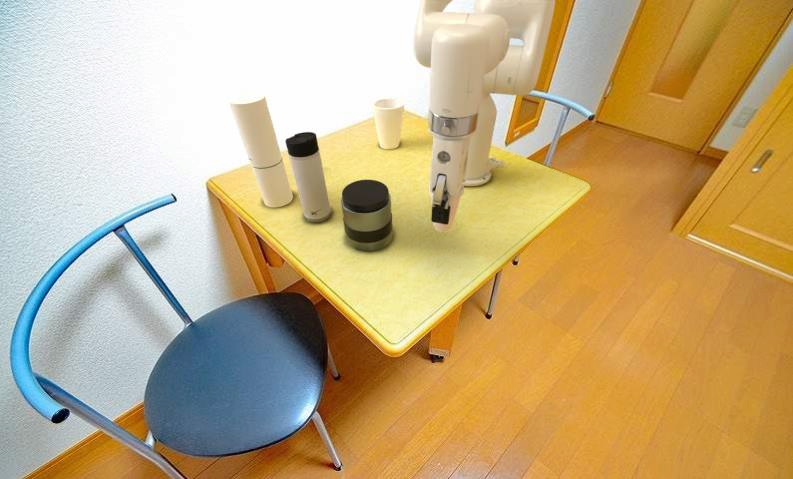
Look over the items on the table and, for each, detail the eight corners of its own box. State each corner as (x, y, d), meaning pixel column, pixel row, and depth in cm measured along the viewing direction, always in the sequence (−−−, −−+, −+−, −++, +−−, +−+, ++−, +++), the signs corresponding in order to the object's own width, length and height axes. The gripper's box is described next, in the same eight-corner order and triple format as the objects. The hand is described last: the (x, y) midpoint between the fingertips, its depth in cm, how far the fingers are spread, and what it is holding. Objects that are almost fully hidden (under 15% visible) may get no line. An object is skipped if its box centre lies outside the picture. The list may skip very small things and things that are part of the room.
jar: (388, 218, 76) (386, 175, 68) (396, 248, 68) (395, 203, 61) (344, 224, 75) (337, 181, 67) (348, 255, 67) (340, 210, 59)
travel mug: (320, 226, 74) (301, 145, 61) (299, 217, 77) (277, 137, 63) (337, 212, 78) (323, 132, 65) (317, 204, 81) (299, 126, 67)
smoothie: (457, 238, 62) (466, 176, 53) (424, 234, 63) (427, 172, 54) (459, 217, 67) (468, 156, 57) (428, 214, 68) (432, 153, 58)
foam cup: (378, 137, 109) (375, 97, 100) (405, 138, 108) (405, 98, 99) (372, 150, 102) (369, 108, 93) (401, 152, 101) (401, 109, 92)
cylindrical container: (283, 188, 86) (254, 89, 70) (298, 198, 83) (271, 97, 66) (259, 199, 83) (221, 98, 66) (272, 211, 79) (237, 106, 62)
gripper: (466, 149, 43) (454, 245, 56) (485, 102, 55) (471, 189, 67) (413, 142, 45) (412, 236, 58) (441, 97, 57) (436, 184, 69)
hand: (444, 210), depth 62 cm, fingers closed on smoothie, 6 cm apart
